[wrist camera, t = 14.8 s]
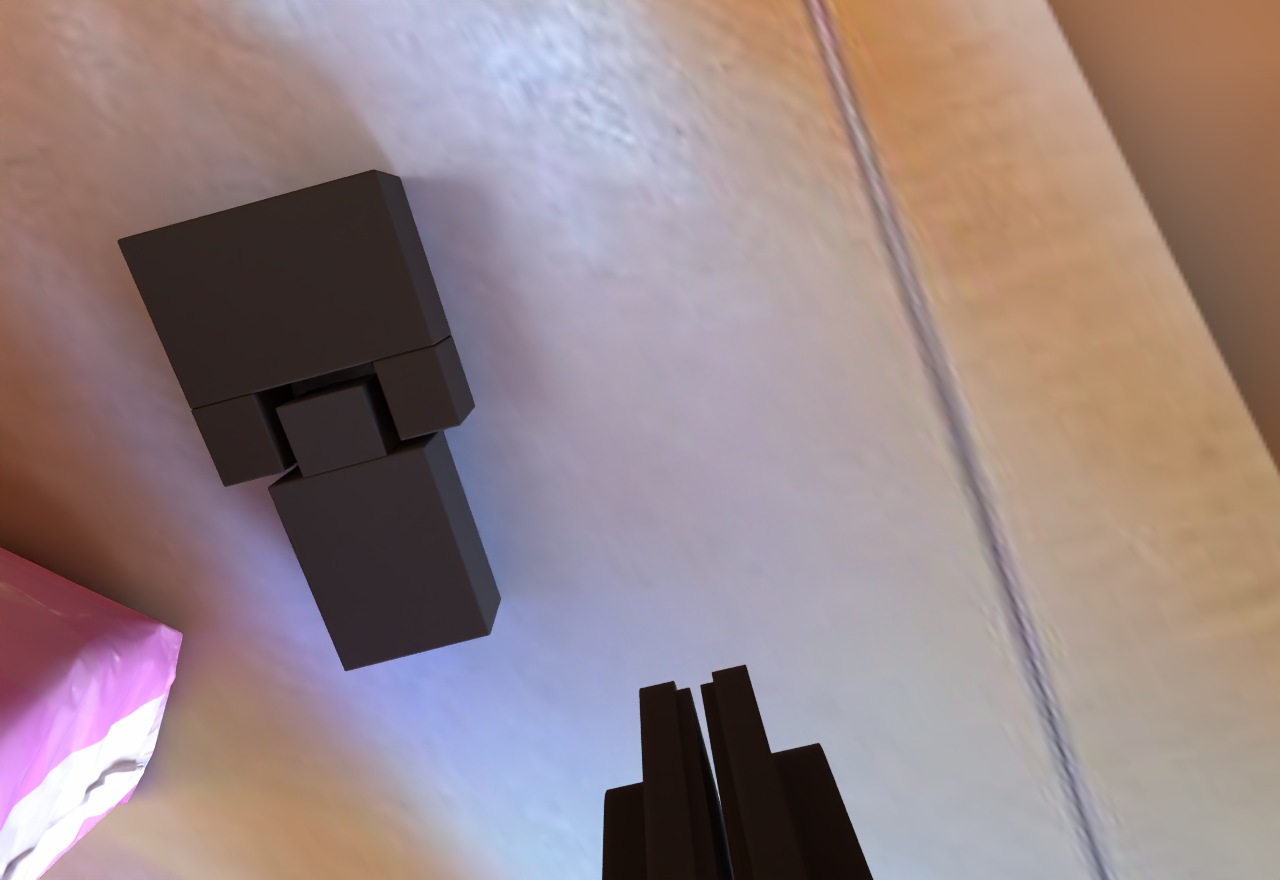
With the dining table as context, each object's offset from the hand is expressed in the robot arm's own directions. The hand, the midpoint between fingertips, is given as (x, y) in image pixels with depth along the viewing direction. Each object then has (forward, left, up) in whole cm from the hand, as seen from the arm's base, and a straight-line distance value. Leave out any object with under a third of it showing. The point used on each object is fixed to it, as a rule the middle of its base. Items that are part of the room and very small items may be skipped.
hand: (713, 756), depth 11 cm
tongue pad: (+11, 0, -19) cm, 22 cm away
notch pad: (+11, -7, -19) cm, 23 cm away
